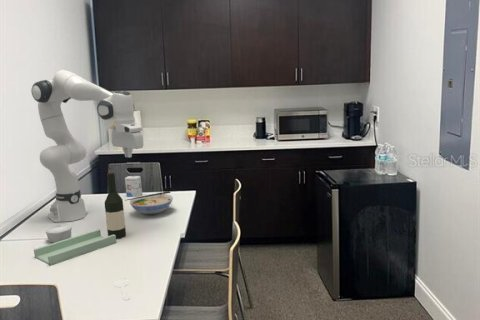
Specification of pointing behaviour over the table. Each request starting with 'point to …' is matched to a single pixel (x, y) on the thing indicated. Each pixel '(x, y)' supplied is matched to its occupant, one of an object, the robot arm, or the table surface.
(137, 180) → the ink box
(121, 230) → the wine bottle
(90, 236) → the tray
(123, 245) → the table surface
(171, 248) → the table surface
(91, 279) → the table surface
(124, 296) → the spoon
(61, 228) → the ramekin
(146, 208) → the ramen bowl
